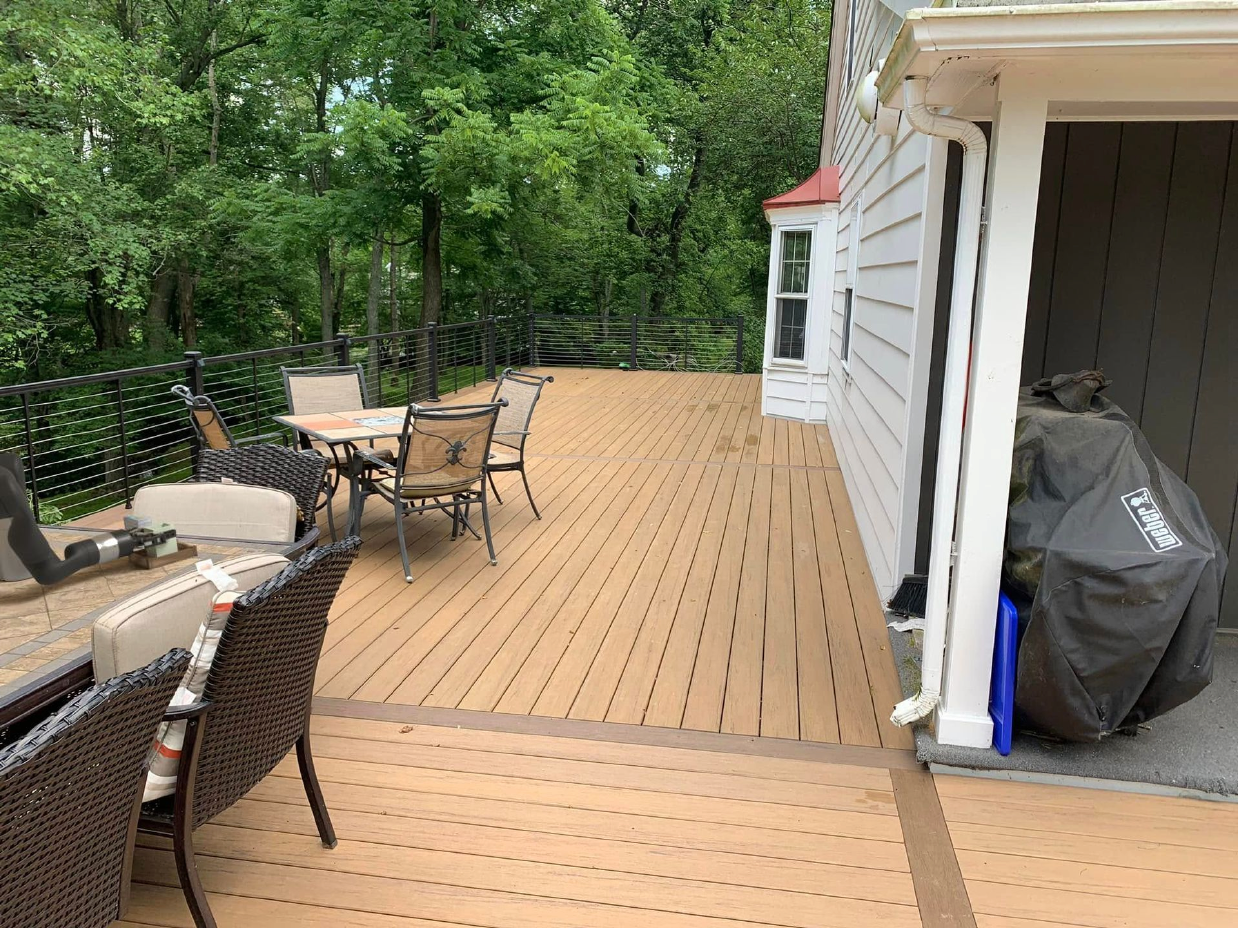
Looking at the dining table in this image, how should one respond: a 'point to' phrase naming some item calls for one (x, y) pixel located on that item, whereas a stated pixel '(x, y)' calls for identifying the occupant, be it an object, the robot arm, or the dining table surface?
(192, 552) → the walnut crate
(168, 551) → the small square vase
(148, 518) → the medicine box
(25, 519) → the robot arm
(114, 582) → the dining table surface
